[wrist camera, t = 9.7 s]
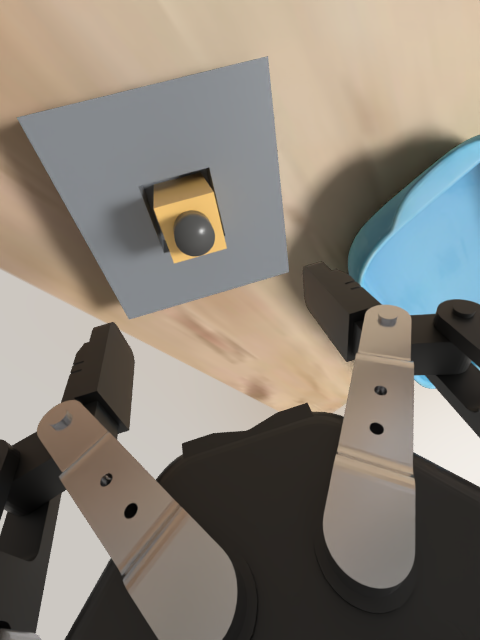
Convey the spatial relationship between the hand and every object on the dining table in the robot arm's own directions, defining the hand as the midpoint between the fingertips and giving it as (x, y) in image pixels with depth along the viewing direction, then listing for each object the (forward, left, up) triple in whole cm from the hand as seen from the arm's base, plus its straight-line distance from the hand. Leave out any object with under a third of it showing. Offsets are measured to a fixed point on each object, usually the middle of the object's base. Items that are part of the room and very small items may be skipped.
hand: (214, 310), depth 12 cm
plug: (0, 0, -17) cm, 17 cm away
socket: (0, 0, -18) cm, 18 cm away
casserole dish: (-29, +17, -18) cm, 38 cm away
